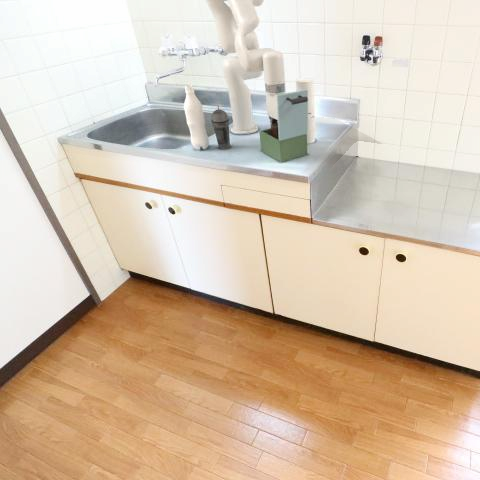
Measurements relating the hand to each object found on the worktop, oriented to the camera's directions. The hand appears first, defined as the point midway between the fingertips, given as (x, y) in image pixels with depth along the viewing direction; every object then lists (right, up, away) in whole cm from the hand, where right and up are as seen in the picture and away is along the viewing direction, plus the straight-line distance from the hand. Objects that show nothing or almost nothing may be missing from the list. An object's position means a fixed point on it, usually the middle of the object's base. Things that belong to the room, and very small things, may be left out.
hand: (279, 134), depth 151 cm
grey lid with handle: (+6, +4, -13) cm, 15 cm away
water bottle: (-34, -4, +8) cm, 35 cm away
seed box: (+2, -7, +2) cm, 7 cm away
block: (0, 0, 0) cm, 0 cm away
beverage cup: (-24, -3, +8) cm, 26 cm away
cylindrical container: (+11, +1, +13) cm, 17 cm away
